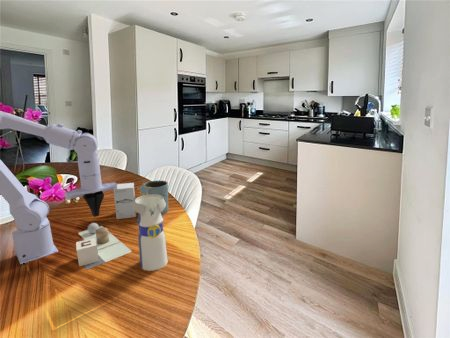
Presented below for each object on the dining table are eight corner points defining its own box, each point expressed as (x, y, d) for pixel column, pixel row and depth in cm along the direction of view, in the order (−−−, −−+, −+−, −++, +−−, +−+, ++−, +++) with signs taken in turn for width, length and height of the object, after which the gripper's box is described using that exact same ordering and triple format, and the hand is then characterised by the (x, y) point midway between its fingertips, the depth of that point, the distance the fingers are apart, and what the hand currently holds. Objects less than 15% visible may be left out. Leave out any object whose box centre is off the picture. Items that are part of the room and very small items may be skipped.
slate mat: (86, 271, 73) (86, 269, 73) (77, 259, 79) (77, 258, 79) (105, 263, 77) (105, 262, 77) (95, 252, 82) (95, 251, 82)
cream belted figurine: (174, 266, 75) (168, 179, 69) (143, 276, 71) (134, 185, 65) (165, 252, 82) (159, 172, 76) (136, 260, 78) (127, 177, 72)
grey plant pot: (157, 218, 106) (155, 189, 103) (139, 212, 111) (136, 185, 108) (174, 209, 115) (173, 182, 112) (157, 204, 120) (155, 178, 117)
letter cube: (79, 266, 75) (76, 249, 74) (78, 257, 79) (75, 241, 78) (98, 261, 77) (96, 245, 76) (97, 252, 81) (95, 237, 80)
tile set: (105, 263, 77) (105, 262, 77) (78, 233, 94) (77, 232, 94) (132, 252, 82) (132, 251, 82) (101, 226, 100) (101, 225, 100)
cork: (99, 245, 86) (97, 234, 85) (95, 241, 88) (93, 230, 87) (110, 241, 88) (109, 230, 87) (106, 237, 91) (105, 226, 90)
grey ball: (90, 236, 92) (88, 226, 91) (86, 232, 94) (85, 223, 93) (101, 232, 94) (99, 223, 93) (97, 229, 96) (96, 220, 96)
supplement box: (116, 220, 105) (112, 189, 102) (118, 213, 112) (114, 183, 108) (136, 218, 107) (133, 187, 103) (136, 210, 114) (133, 182, 110)
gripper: (109, 167, 90) (113, 205, 93) (59, 175, 80) (66, 218, 84) (117, 171, 85) (122, 211, 88) (66, 180, 75) (73, 225, 79)
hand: (95, 215), depth 86 cm, fingers closed
